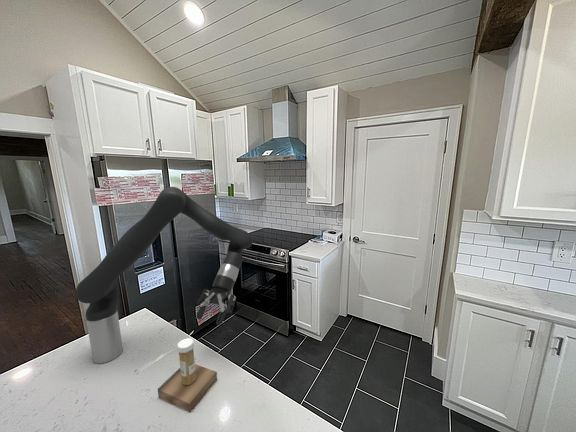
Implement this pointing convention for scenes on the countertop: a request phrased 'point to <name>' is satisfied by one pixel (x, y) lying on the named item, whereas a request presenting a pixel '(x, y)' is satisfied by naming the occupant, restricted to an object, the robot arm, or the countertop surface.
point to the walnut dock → (187, 388)
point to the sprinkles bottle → (187, 361)
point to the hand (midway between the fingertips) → (208, 321)
